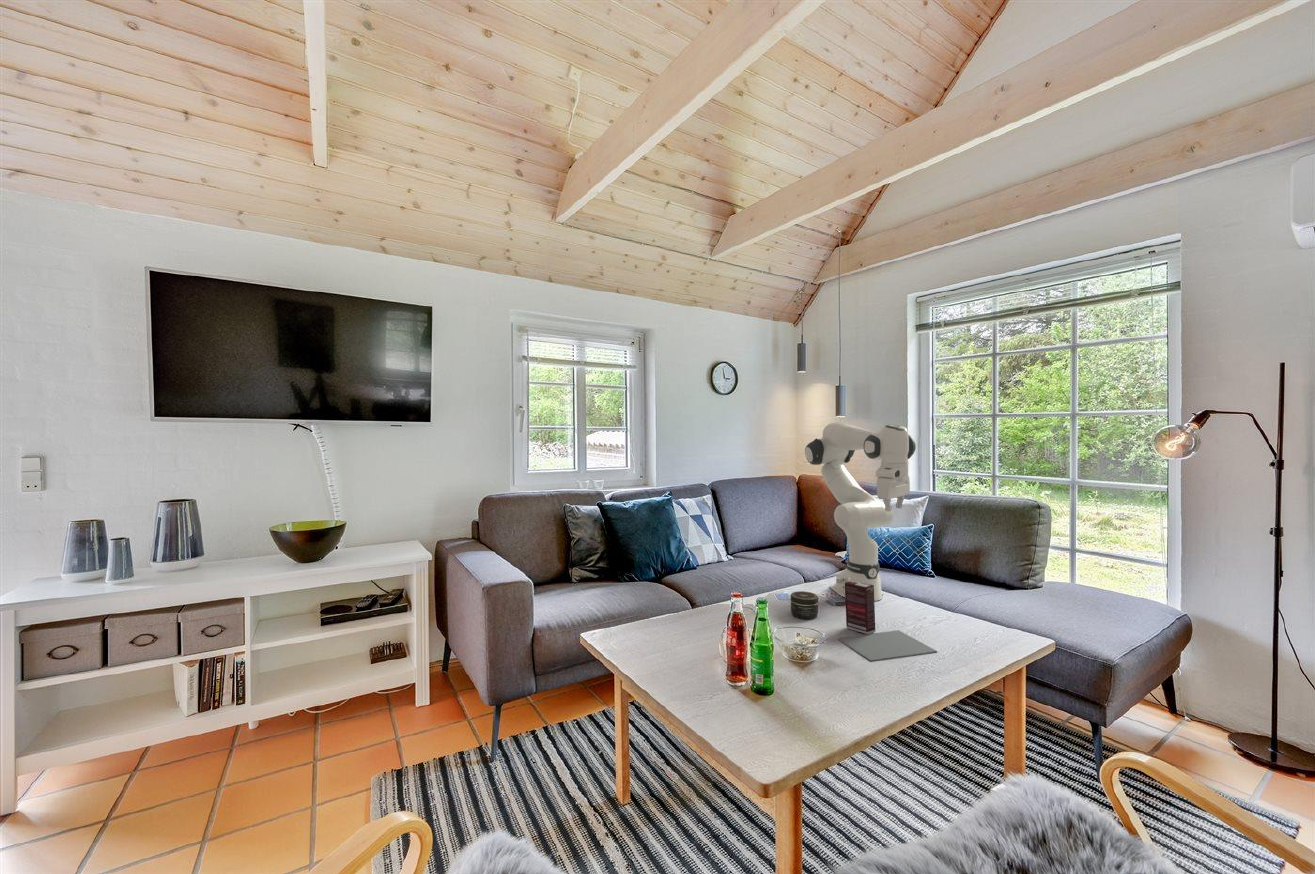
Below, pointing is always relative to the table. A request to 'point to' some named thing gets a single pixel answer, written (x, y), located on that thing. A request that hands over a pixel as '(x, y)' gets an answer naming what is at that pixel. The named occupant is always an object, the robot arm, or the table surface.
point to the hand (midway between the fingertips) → (893, 509)
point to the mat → (886, 645)
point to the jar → (804, 605)
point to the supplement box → (860, 607)
